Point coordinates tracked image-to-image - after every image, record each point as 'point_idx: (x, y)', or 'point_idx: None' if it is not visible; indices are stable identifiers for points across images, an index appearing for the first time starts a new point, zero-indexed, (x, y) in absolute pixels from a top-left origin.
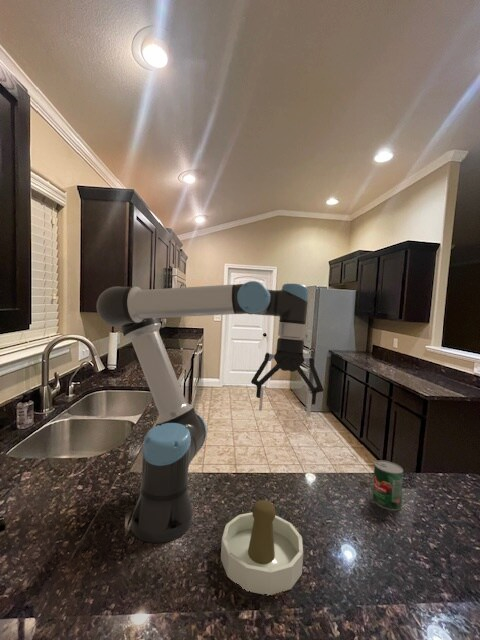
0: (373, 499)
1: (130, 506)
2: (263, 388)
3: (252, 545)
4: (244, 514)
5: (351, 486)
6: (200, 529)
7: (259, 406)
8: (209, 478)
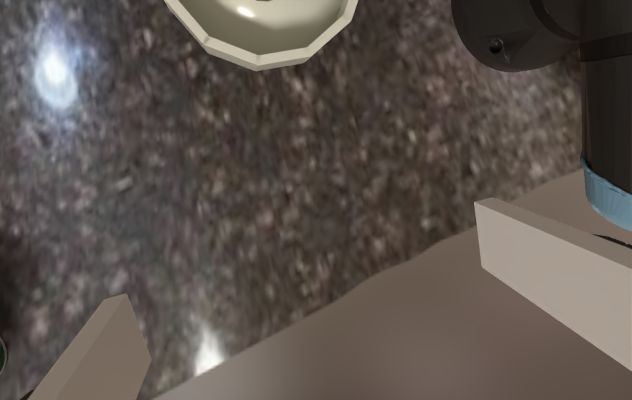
0: (2, 344)
1: None
2: (626, 267)
3: None
4: (336, 29)
5: None
6: (425, 7)
7: (509, 205)
8: None
